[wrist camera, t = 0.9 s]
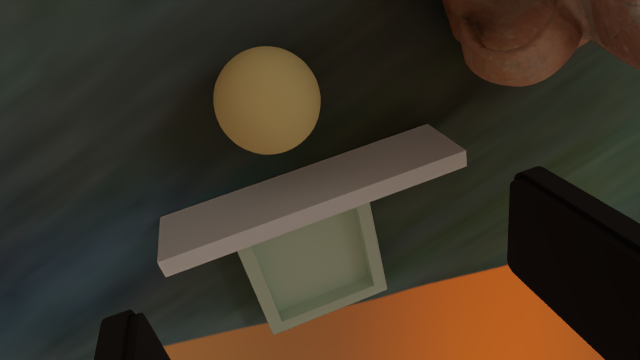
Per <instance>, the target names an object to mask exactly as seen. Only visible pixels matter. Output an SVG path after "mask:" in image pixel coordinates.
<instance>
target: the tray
mask: <svg viewBox="0 0 640 360" xmlns="http://www.w3.org/2000/svg"><path fill="white" fill-rule="evenodd" d="M237 252H238V254H239V257H240V259H241V261H242V264H243V266H244V268H245V271H246V273H247V275H248V277H249V280H250V282H251V284H252V287H253V289H254V291H255V294H256V296H257V298H258V301H259V303H260V305H261V308H262V310H263V312H264V315H265V317H266V319H267V321H268V324H269V326H270V328H271V331H272V333H273V335H275V334H277V333H280V332H282V331H285V330H287V329H290V328H292V327H295V326H297V325H300V324H302V323H305V322H307V321H310V320H312V319H315V318H317V317H320V316H322V315H325V314H327V313H330V312H332V311H335V310H337V309H340V308H342V307H345V306H347V305H350V304H352V303H355V302H357V301H360V300H362V299H365V298H367V297H370V296H372V295H375V294H377V293H380V292H382V291H385V290H387V285H386V280H385V275H384V270H383V266H382V261H381V256H380V251H379V246H378V241H377V236H376V231H375V226H374V221H373V216H372V211H371V206H370V202H369V203H366V204H363V205H361V206H358V207H355V208H352V209H350V210H347V211H344V212H342V213H339V214H336V215H334V216H331V217H328V218H325V219H323V220H320V221H317V222H315V223H312V224H309V225H306V226H304V227H301V228H298V229H296V230H293V231H290V232H287V233H285V234H282V235H279V236H277V237H274V238H271V239H268V240H266V241H263V242H260V243H258V244H255V245H252V246H250V247H247V248H244V249H241V250H239V251H237Z"/></svg>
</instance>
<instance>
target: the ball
mask: <svg viewBox="0 0 640 360" xmlns="http://www.w3.org/2000/svg"><path fill="white" fill-rule="evenodd" d="M213 98H214V110H215V114H216V117H217V120H218V122H219V124H220V126H221V128H222V130H223V131H224V133H225V134H226V135H227V136H228V137H229V138H230V139H231V140H232V141H233V142H234V143H235V144H237V145H238V146H240V147H242V148H244V149H246V150H248V151H251V152H254V153H258V154H266V155H269V154H279V153H282V152H286V151H288V150H291V149H292V148H294V147H296V146H298V145H299V144H300V143H302V142H303V141H304V140H305V139H306V138H307V137H308V136H309V134H310V133H311V132H312V130H313V129H314V127H315V125H316V123H317V120H318V117H319V113H320V105H321V96H320V90H319V86H318V83H317V80H316V78H315V76H314V74H313V73H312V71H311V70H310V68H309V67H308V66H307V65H306V63H305V62H304V61H302V60H301V59H300V58H299V57H297V56H296V55H294V54H293V53H291V52H289V51H287V50H284V49H281V48H278V47H272V46H262V47H255V48H250V49H248V50H245V51H243V52H241V53H239V54H237V55H236V56H235V57H233V58H232V59H231V60H230V61H229V62H228V63H227V64H226V65H225V67H224V68H223V69H222V71H221V73H220V74H219V76H218V79H217V81H216V84H215V88H214V96H213Z"/></svg>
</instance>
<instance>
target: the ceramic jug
mask: <svg viewBox="0 0 640 360" xmlns="http://www.w3.org/2000/svg"><path fill="white" fill-rule="evenodd" d="M442 3H443V6H444V8H445V11H446V15H447V17H448V19H449V23H450V27H451V30H452V34H453V37H454V38H455V39H457V40H458V41H459V42H461V46H462V51H463V56H464V60H465V63H466V64H467V65H468V67H469V68H470V70H471V71H473V72H474V73H475V74H476V75H478V76H479V77H481V78H483V79H485V80H487V81H489V82H492V83H495V84H500V85H506V86H527V85H532V84H536V83H538V82H540V81H542V80H545V79H546V78H548V77H550V76H551V75H553V74H554V73H555V72H557V71H558V70H559V69H560V68H561V67H562V66H563V65H564V64H565V63H566V62H567V60H568V59H569V58H570V57H571V56H572V55H573V54H574V52H575V51H576V49H577V48H578V47H580V46H582V45H584V44H586V43H587V42H589V41H590V40H592V41H593V42H595V43H596V44H598V45H599V46H600V47H602V48H603V49H605V50H606V51H608V52H609V53H611V54H612V55H614V56H615V57H617V58H619V59H620V60H622V61H624V62H626V63H627V64H629V65H631V66H633V67H635V68H637V69H639V70H640V0H442Z"/></svg>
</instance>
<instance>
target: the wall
mask: <svg viewBox="0 0 640 360" xmlns="http://www.w3.org/2000/svg"><path fill="white" fill-rule="evenodd" d="M466 166H467V159H466V150H465V149H463V148H462V147H460V146H459V145H458V144H456V143H455V142H453V141H452V140H450V139H449V138H447V137H446V136H445V135H443V134H442V133H440V132H439V131H437V130H436V129H434V128H433V127H432V126H430V125H429V124H425V125H422V126H419V127H417V128H414V129H411V130H408V131H405V132H402V133H399V134H397V135H394V136H391V137H388V138H385V139H382V140H379V141H377V142H374V143H371V144H368V145H365V146H362V147H359V148H357V149H354V150H351V151H348V152H345V153H342V154H339V155H337V156H334V157H331V158H328V159H325V160H322V161H319V162H316V163H314V164H311V165H308V166H305V167H302V168H299V169H296V170H294V171H291V172H288V173H285V174H282V175H279V176H276V177H274V178H271V179H268V180H265V181H262V182H259V183H256V184H254V185H251V186H248V187H245V188H242V189H239V190H236V191H234V192H231V193H228V194H225V195H222V196H219V197H216V198H214V199H211V200H208V201H205V202H202V203H199V204H196V205H194V206H191V207H188V208H185V209H182V210H179V211H176V212H173V213H171V214H168V215H165V216H162V217H160V227H159V242H158V258H157V263H158V265H159V267H160V268H161V270H162V272H163V274H164V275H165V277H168V276H171V275H174V274H176V273H179V272H182V271H184V270H187V269H190V268H193V267H195V266H198V265H201V264H203V263H206V262H209V261H212V260H214V259H217V258H220V257H222V256H225V255H228V254H231V253H233V252H236V251H239V250H241V249H244V248H247V247H250V246H252V245H255V244H258V243H260V242H263V241H266V240H268V239H271V238H274V237H277V236H279V235H282V234H285V233H287V232H290V231H293V230H296V229H298V228H301V227H304V226H306V225H309V224H312V223H315V222H317V221H320V220H323V219H325V218H328V217H331V216H334V215H336V214H339V213H342V212H344V211H347V210H350V209H352V208H355V207H358V206H361V205H363V204H366V203H369V202H371V201H374V200H377V199H380V198H382V197H385V196H388V195H390V194H393V193H396V192H399V191H401V190H404V189H407V188H409V187H412V186H415V185H417V184H420V183H423V182H426V181H428V180H431V179H434V178H436V177H439V176H442V175H445V174H447V173H450V172H453V171H455V170H458V169H461V168H464V167H466Z"/></svg>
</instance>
